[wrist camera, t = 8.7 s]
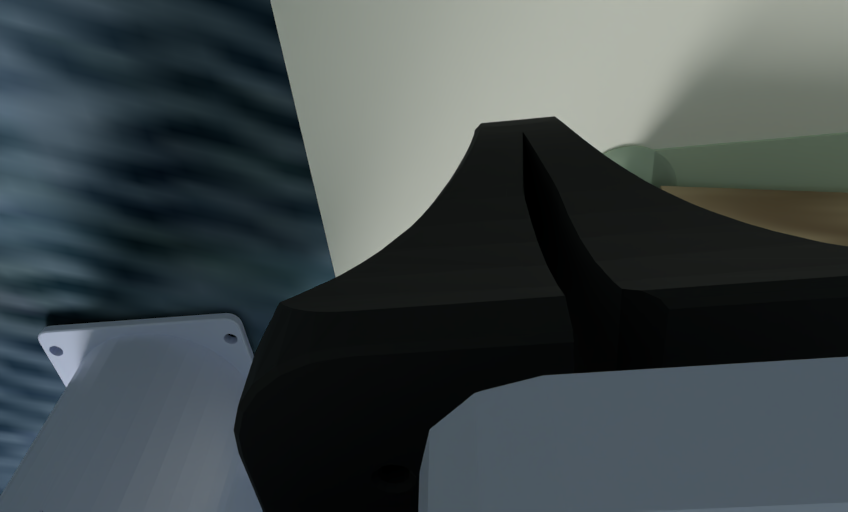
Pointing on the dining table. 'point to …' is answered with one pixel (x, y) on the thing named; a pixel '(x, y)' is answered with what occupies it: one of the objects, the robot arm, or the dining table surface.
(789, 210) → the folding fence panel
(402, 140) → the card
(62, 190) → the dining table surface
